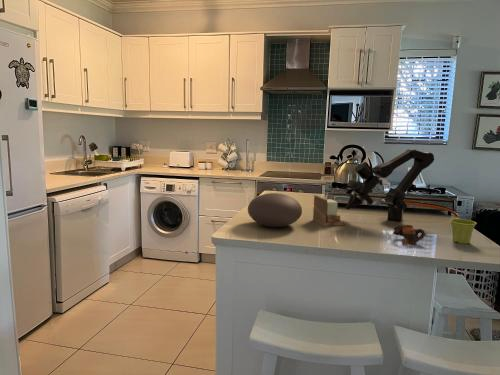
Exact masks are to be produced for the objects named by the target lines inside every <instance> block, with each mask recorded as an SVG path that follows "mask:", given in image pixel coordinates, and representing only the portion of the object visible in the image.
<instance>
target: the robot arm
mask: <svg viewBox="0 0 500 375" xmlns="http://www.w3.org/2000/svg"><path fill="white" fill-rule="evenodd" d="M412 159H413V164H412V167H411V168H410V169H408V170H409V171H407V173H406V175H405V176H404V177H403V178H402V179H401V181H400V182H399V183H398V185H397V186H396V187H394V188H393V187H390V188H389V190H388V191H387V192H386V193H385V197H384V198H385V202H386V205H387V206H388V207H389V209H388V210H387V220H388V221H395V222H402V221H403V220H404V210H406V209H407V207H408V205H407V204H406V202H405V198H406V193H407V191H408V190H409V189H410V188H411V186H412V185H413V183H414V182H415V181H416V179H417V178H418V177H419V175H420V174H421V172H422V171H423V170H425V169H426V168H428V167H430V166H431V165H432V164H433V163H434V161H435V156H434V153H432V152H427V151H419V150H417V149H416V148H415V149H413V148H412V149H411V148H408V149H406V151H404V152H402V153H400V154H399V155H397V156H396V157H394V158H392V159H390V160H389V161H386V162H382V163H379V164H376V165H375V166H374V167H371V166H370V165H369V163H368V162H367V161H363V162H362V163H360V164H358V165H357V166H356V167H355V168H354V171H355V173H356V174H357V175H358V177H360V178H361V180H364V181H363V182H362V181H360V180H356V181H355V180H352V179H349V180H348V182H347V185H346V188H345V189H344V192H345V193H346V195H348V197H349V199H348V202H347V204H346V206H345V209H346V210H350V209H352V208H355V207H357V206H360V205H364V201H365V202H366V205H368V206H371V205H373V203H374V200H373V198H372V197H371V196H370V195H369V194H373V190H374V189H375V188H376V187H377V185H379V186H383V185H384V184H383V179H386V178H388V177H389V176H390V175H391V174H392V173H393V172H394V170H396V169H397V168H399V167H401V166H402V165H404V164H405V163H407V162H409V161H411V160H412ZM381 178H382V179H381Z"/></svg>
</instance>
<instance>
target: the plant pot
mask: <svg viewBox="0 0 500 375" xmlns="http://www.w3.org/2000/svg"><path fill="white" fill-rule="evenodd" d="M450 223H451V228H452V230H451V231H452V232H451V233H452V234H451V235H452V242H454V243H458V244H465V245H467V244H470V242H471V240H472V235H473V231H474V229H475V227H476V225H477V222H476V221H473V220H469V219H462V218H451V219H450Z"/></svg>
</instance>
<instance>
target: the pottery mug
mask: <svg viewBox="0 0 500 375" xmlns="http://www.w3.org/2000/svg"><path fill="white" fill-rule="evenodd" d="M393 230H394V231H393V232H392V235H393V236H395V235H396V236H401V237H403V238H402V239H401V244H402V245H413V246H416V245H417V243H419V241H421V240H423V239H424V238H425V236H426V232H425V230H424V229H422V228H418V229H415V228H414V225H411V224H403V225H398V226H395V227H394V228H393ZM419 234H421V235H420V236H419Z"/></svg>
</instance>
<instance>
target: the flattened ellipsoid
mask: <svg viewBox="0 0 500 375" xmlns="http://www.w3.org/2000/svg"><path fill="white" fill-rule="evenodd" d="M302 208H303V207H302V206H301V204H300V203H299V201H298V200H296V198H293V197H292V196H290V195H288V194H285V193H284V194H283V193H277V192H274V193H272V192H270V193H264V194H260V195H258V196H256V197H254V198H253V199H252V200H251V201H250V202H249V203H248V205H247V213H248V216H249V218H251V219H252V220H253V221H254V222H256V223H258V224H260V225H262V226H266V227H270V228H280V227H286V226H290V225H292V224H294V223H296V222H297V221H298V220H299V219H300V217H301V216H302V213H303V210H302Z"/></svg>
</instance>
